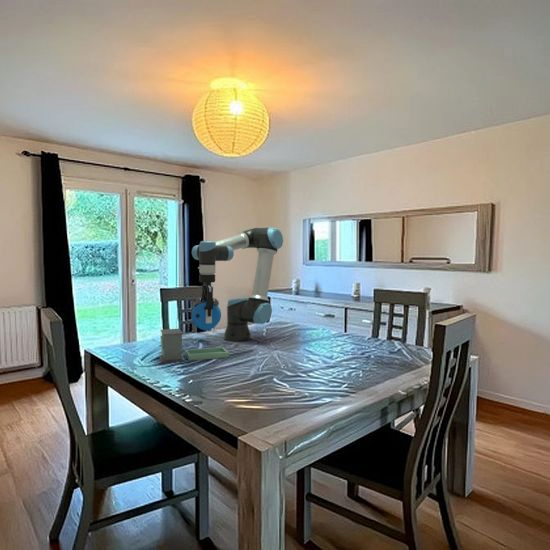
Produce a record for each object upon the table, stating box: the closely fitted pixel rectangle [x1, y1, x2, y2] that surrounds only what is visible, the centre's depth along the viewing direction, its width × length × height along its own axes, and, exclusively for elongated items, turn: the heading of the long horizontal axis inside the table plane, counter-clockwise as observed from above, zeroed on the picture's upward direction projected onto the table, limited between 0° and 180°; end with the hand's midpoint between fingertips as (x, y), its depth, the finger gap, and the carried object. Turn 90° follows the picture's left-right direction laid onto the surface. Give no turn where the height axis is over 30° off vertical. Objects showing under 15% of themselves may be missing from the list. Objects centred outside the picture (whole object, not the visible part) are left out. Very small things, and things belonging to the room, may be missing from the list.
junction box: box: [158, 328, 186, 364], centre depth 190 cm, size 10×12×13 cm
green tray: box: [184, 346, 230, 362], centre depth 196 cm, size 19×11×2 cm, turn 111°
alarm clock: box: [191, 297, 222, 331], centre depth 195 cm, size 13×6×15 cm, turn 90°
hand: (206, 321), depth 195 cm, fingers closed on alarm clock, 8 cm apart
